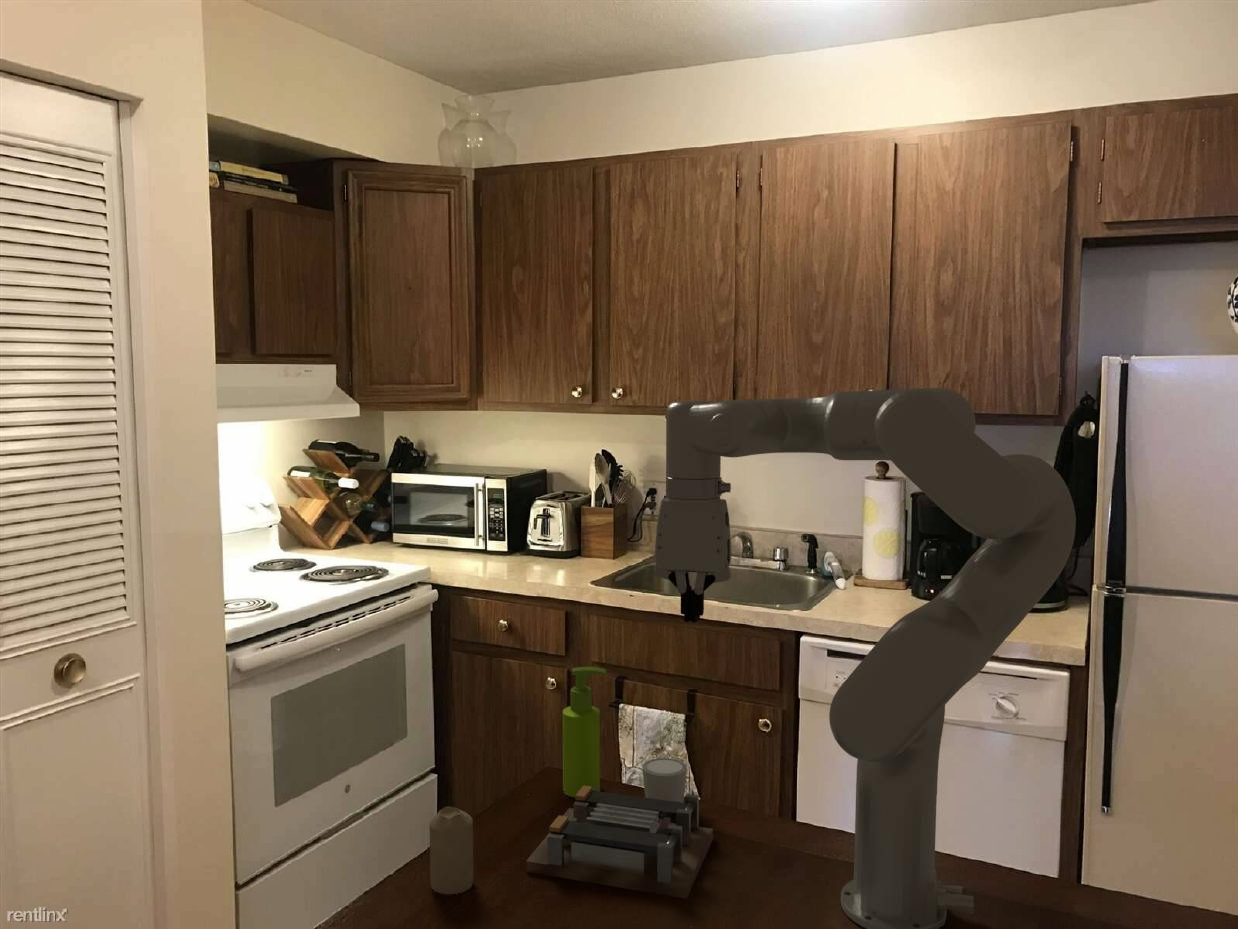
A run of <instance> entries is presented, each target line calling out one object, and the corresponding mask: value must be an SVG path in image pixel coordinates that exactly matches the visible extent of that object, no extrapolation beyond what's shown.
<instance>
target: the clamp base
mask: <svg viewBox="0 0 1238 929" xmlns="http://www.w3.org/2000/svg"><path fill="white" fill-rule="evenodd" d="M592 791H599V792H601V788H593V787H592ZM699 796H700V795H699V794H691V793H686V794H684V803H688V802H693V803H694V805H695V807H694V809H693V811H692V813H691V811H690V810H683V809H678V810H677V812H676V819H675V820H676V821H675V822H676V823H673V822H671V818H668V817H660V816H659V812H657V811H650V810H643V809H636V808H628V807H621V806H614V805H607V804H600V803H598V804H597V808H595V807H589V803H584V802H577V801H576V802H575V801H574V803H573V804H572V805H573V807H572V808H571V807H568V809H567V810H566V812H564V814H563V815H562V816H567V817H568V821H573V822H580V823H587V824H594V825H601V826H608V827H615V828H622V829H629V830H636V831H643V832H650V833H657V834H664V835H671V834H676V835H677V837H678V840H677V842H676V844H675V846H674V848H673V844H667V843H660V842H659V844H658V846H657V853H655V852H648V851H642V850H635V849H628V848H621V847H615V846H608V845H601V844H594V843H588V842H581V841H574V840H568V839H564V835H559V834H553V833H550V831H549V832H548V834H547V835H546V836H545V838H544V839H543V840H542V841H541V842H540V843H539V845H538V846H536V849H534V851H533V852H532V853H531V854H530V856H529V857H528V858H527V860H526V861H525V863H526V864H525V865H526V866H525V867H526V869H525V870H526V871H525V872H526V873H530V874H536V875H542V876H543V875H544V876H549V877H554V878H562V879H565V880H566V879H568V880H571V881H572V880H573V881H579V882H584V883H589V884H590V883H591V884H597V885H602V886H609V887H614V888H618V889H619V888H622V889H627V890H633V891H639V892H645V893H650V894H656V895H661V896H668V897H675V898H682V899H688V897H689V895H690V892H691V890H692V888H693V885H694V883H695V881H696V879H697V876H698V874H699V872H700V870H701V867H702V866H703V863H704V860H705V859H706V856H707V854H708V852H709V848H710V847H711V844H712V842H713V840H714V828H709V827H701V826H699V822H700V821H699V820H700V819H699V817H700V816H699V815H700V811H699V810H700V809H699V808H700V806H699V805H700V803H699V802H700V801H699V800H700V799H699V798H700V797H699Z"/></svg>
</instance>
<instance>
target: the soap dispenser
mask: <svg viewBox="0 0 1238 929" xmlns="http://www.w3.org/2000/svg"><path fill="white" fill-rule="evenodd" d="M606 674H607V669H605V668H602V667H601V668H600V667H597V666H578V667H572V670H571V675H572V676H575V686H572V687H571V688H570V693H569V694H570V696H569V698H570V701H569V702H570V706H567V707H565V708H563V710H562V792H563V791H564V792H563V793H564V795H566V796H568V797H571V798H574V797H575V795H576V794H577V793H578V791H579V790H580V789H581V788H582V786H591V787H593V788H600V787H601V785H600V784H601V783H600V781H601V779H600V777H601V772H600V766H601V764H600V763H601V758H600V755H601V751H600V739H601V736H600V733H601V732H600V730H601V729H600V728H601V725H600V722H601V721H600V716H601V714H600V709H599V708H598V707H596V706H594V705H593V702H592V701H593V698H592V697H593V696H592V695H593V694H592V693H593V692H592V687H589V686H588V685H587V675H598V676H603V677H604V676H605V675H606ZM600 789H601V788H600Z"/></svg>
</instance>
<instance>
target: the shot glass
mask: <svg viewBox="0 0 1238 929" xmlns="http://www.w3.org/2000/svg"><path fill="white" fill-rule="evenodd" d="M641 765H642V766H641V767H642V778H643V779H642V780H643V787H644V797H645V798H652V799H660V800H667V801H675V802H683V803H685V791H686V782H687V771H688V769H687V768H688V767H687V764H685V762H684V761H681V760H679V759H676V758H670V757H658V758H651V759H649V760H647V761H645V762H643V764H641Z"/></svg>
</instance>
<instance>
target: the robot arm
mask: <svg viewBox="0 0 1238 929" xmlns="http://www.w3.org/2000/svg"><path fill="white" fill-rule="evenodd" d="M665 416H666V417H665V418H666V419H665V420H666V421H665V423H666V424H665V427H666V428H665V437H666V438H665V497H663V498H662V499H661V500H660V505H659V511H658V516H657V526H656V532H655V533H656V535H655V546H654V547H655V548H654V559H655V560H654V561H655V568H654V573H653V574H654V576H656V577H658V578H661V579H664V580H668V581H670V582H671V583H672V585H673V586H675V588H676V589H677V591H678V593H680V614H681V615H683V616H684V617H683V621H684V623H689V622H691V623H692V624H693V623H695V624H696V623H697V622H698V621H699V620H700V619H701V616H702V617H703V615H704V613H705V591H706V590H707V589H709V588H710V587H711V586H712V585H713V584H717V583H721V582H727V581H729V580H730V579H731V577H732V572H731V567H730V564H731V561H732V540H731V539H732V538H731V526H730V525H731V523H730V515H729V514H730V513H729V509H728V504H727V499H723V498H721V497H722V495H723V494H725V493H731V489H732V484H731V482H726V481H723V479H722V476H721V469H722V468H721V466H722V465H721V460H722V459H721V458H723V457H725V458H742V457H749V456H754V455H755V456H756V455H763V454H766V455H767V454H777V453H778V454H786V453H788V454H790V453H792V454H793V453H796V454H797V453H800V454H801V453H802V454H804V453H805V454H806V453H808V454H809V453H810V454H824V455H825V454H826V455H829V456H831V457H832V458H833V459H835V460H838V461H891V463H893V464H894V466H895V467H896V468H897V469H898V470H899V471H900V472H901V473H902V474H903V475H904V476H906V477H907V478H908V479H909V480H910V482H912V483H913V484H914V485H915V486H916V487H917V488H919V490H920V491H921V492H922V493H924V494H925V495H926V497H928V498H929V499H930V500H931V501H932V502H933V503H934V504H935V505H937V507H939V508H940V509H941V510H942V511H943V512H944V513H945V514H946V515H947V516H948V517H949V518H951V519H952V520H953V521H954V522H955V523H956V524H958V525H959V527H961V528H962V529H964V530H965V531H967V532H968V533H970V534H972V535H975V536H976V537H979V538H983V539H986V540H985V541H984V542H983V543H982V545H981V546H980V547H979V548H978V549H977V550H976V551H975V552H974V553H973V554H972V555H971V556H970V557H969V559H967V561H966V562H965V564H964V565H963V566H962V568H961V569H960V570H959V571H958V572H957V573H956V575H955V576H954V577H953V578H952V579H951V580H950V582H949V583H948V584H947V585H946V586H945V587H944V588H943V589H942V591H940V592H939V594H937V595H936V596H935V597H934V598H933V599H931V600H929V601H928V602H926V603H925V604H922V605H921V606H919V607H918V608H916V609H914V610H913V611H910V612H909V613H907V614H905V615H904V616H902V617H901V618H899V619H898V620H897V621H896V622H895V623H894V624H893V625H892V626H891V627H890V628H888V630H887V631H886V632H885V633H884V634H883V636H881V638H880V639H878V641H877V642H876V644H875V645H874V646H873V647H872V648H871V649H870V651H869V652H868V653H867V654H866V656H865V657H864V658H863V659H862V660H861V662H859V663H858V665H857V666H856V667H855V668H854V669H853V671H852V672H851V673H850V674H849V675H848V677H847V678H846V679H845V681H843V683H842V684H841V685H840V687H839V688H838V689H837V691H836V692H835V694H834V696H833V698H832V701H831V703H830V707H829V713H828V714H829V715H828V716H829V725H830V730H831V733H832V735H833V737H834V740H835V741H836V743H837V744H838V745H839V747H840V748H841V750H843V751H844V752H845V753H846V754H847V755H848V756H851V757H853V758H855V759H857V763H856V764H857V765H856V780H855V810H854V811H855V818H854V824H855V826H854V858H853V859H854V861H853V864H854V865H853V879H851V880H850V881H849V882H847V883H846V884H845V885H844V886H843V887H842V889H841V892H840V904H841V908H842V910H843V911H844V914H846V915H847V917H848V918H850V919H851V920H852V921H853V922H854V923H856V925H857V924H858V925H859V926H860V927H862V928H864V929H939V928H940V927H942V926H943V927H944V925H945V924H946V922H945V921H947V910H950V911H957V912H960V913H967V914H972V915H973V914H974V912H975V910H974V909H975V899H974V898H975V897H974V896H972V895H965V894H963V887H962V886H959V885H947V884H943V882H942V881H938V879H937V878H938V875H937V869H935V863H936V861H935V860H936V859H935V858H936V835H937V834H936V830H937V800H938V798H937V797H938V796H937V795H938V778H939V777H938V776H939V760H940V749H941V744H942V743H941V742H942V737H943V730H944V723H945V715H946V704H947V703H948V702H949V701H950V700H951V699H952V698H953V697H954V696H956V694H957V693H958V692H959V691H960V689H962V688H963V687H964V686H965V685H966V684H967V683H968V682H970V681H971V680H972V679H974V678H975V677H976V676H977V675H978V674H979V673H980V672H981V671H982V670H983V669H984V668H986V667H985V666H986V665H987V663H989V661H990V659H991V658H992V657H993V655H994V654H995V652H996V651H997V650H998V648H999V647H1001V646H1002V644H1003V642H1005V640H1006V639H1007V638H1008V637H1009V636H1010V635H1011V634H1012V633H1013V631H1014V630H1015V629H1016V628H1018V626H1019V625H1020V624H1021V623H1022V622H1023V621H1024V619H1025V618H1026V616H1028V614H1029V613H1030V611H1031V610H1033V609H1034V607H1035V606H1036V605H1037V604H1038V603H1039V602H1040V600H1041V599H1042V598H1043V597H1044V596H1045V595H1046V593H1047V592H1048V591H1049V590H1050V588H1051V587H1052V586H1053V585H1054V583H1055V582H1056V580H1057V579H1058V578H1059V576H1060V574H1061V573H1062V571H1063V570H1064V567H1065V566H1066V564H1067V562H1068V560H1069V558H1070V554H1071V553H1072V552H1071V551H1072V549H1073V546H1074V542H1075V536H1076V524H1077V521H1076V520H1077V519H1076V518H1077V517H1076V516H1077V515H1076V510H1075V505H1074V502H1073V498H1072V495H1071V493H1070V490H1069V488H1068V485H1067V484H1066V482H1065V480H1064V479H1063V477H1062V476H1061V474H1060V473H1059V472H1058V471H1057V469H1055V468H1054V467H1053V466H1052V465H1051V464H1050V463H1048V462H1047V461H1046V460H1043V459H1042V458H1039V457H1037V456H1034V455H1031V454H1024V453H1023V454H1021V453H1018V454H1017V453H1015V454H1014V453H1013V454H1007V455H1003V456H1002V455H1001V454H1000V453H998V451H996V450H995V449H994V448H993V447H992V446H991V445H989V444H988V443H987V442H986V441H985V440H983V439H982V438H981V437H979V436H978V435H977V434H976V433H975V432H976V415H975V412H974V409H973V407H972V405H971V403H970V402H969V401H968V400H967V399H966V398H965V397H964V395H962V394H960V393H958V392H957V391H954V390H952V389H948V388H943V387H942V388H941V387H919V388H918V387H917V388H901V389H882V390H881V389H878V390H855V391H854V390H853V391H850V390H849V391H847V390H846V391H838V392H837V391H836V392H832V393H831V394H830V395H827V396H818V397H797V398H795V397H794V398H792V397H791V398H763V399H762V398H750V399H749V398H747V399H746V398H745V399H732V400H731V399H730V400H729V399H728V400H723V401H717V402H714V401H710V400H676V401H673V402H671V403H669V405H668V406H667V409H666V415H665ZM690 573H696V577H695V582H694V588H693V587H692V586H691V580H690ZM1031 612H1032V611H1031ZM943 927H942V928H943ZM940 929H941V928H940Z"/></svg>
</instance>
